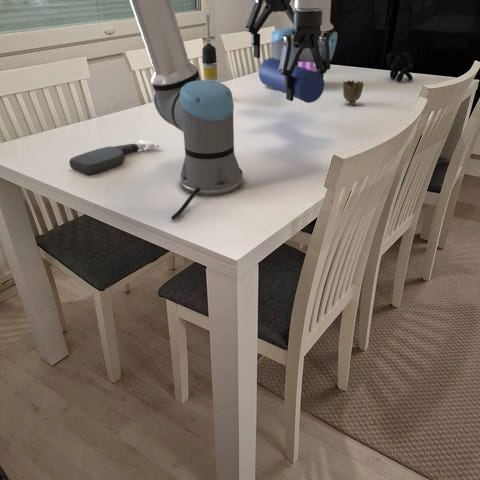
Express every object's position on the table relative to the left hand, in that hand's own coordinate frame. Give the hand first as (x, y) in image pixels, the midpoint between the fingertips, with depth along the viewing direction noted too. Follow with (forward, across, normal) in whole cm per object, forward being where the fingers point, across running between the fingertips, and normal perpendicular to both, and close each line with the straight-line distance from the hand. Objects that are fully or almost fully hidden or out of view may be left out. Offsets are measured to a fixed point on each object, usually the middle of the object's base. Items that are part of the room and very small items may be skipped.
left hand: (303, 97), depth 129 cm
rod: (0, 0, -8) cm, 8 cm away
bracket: (+13, -58, -83) cm, 102 cm away
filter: (+13, +5, -59) cm, 60 cm away
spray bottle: (+13, +53, -11) cm, 56 cm away
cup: (+13, -38, -25) cm, 47 cm away
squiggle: (+13, -81, -47) cm, 95 cm away
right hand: (-9, 0, -16) cm, 18 cm away
